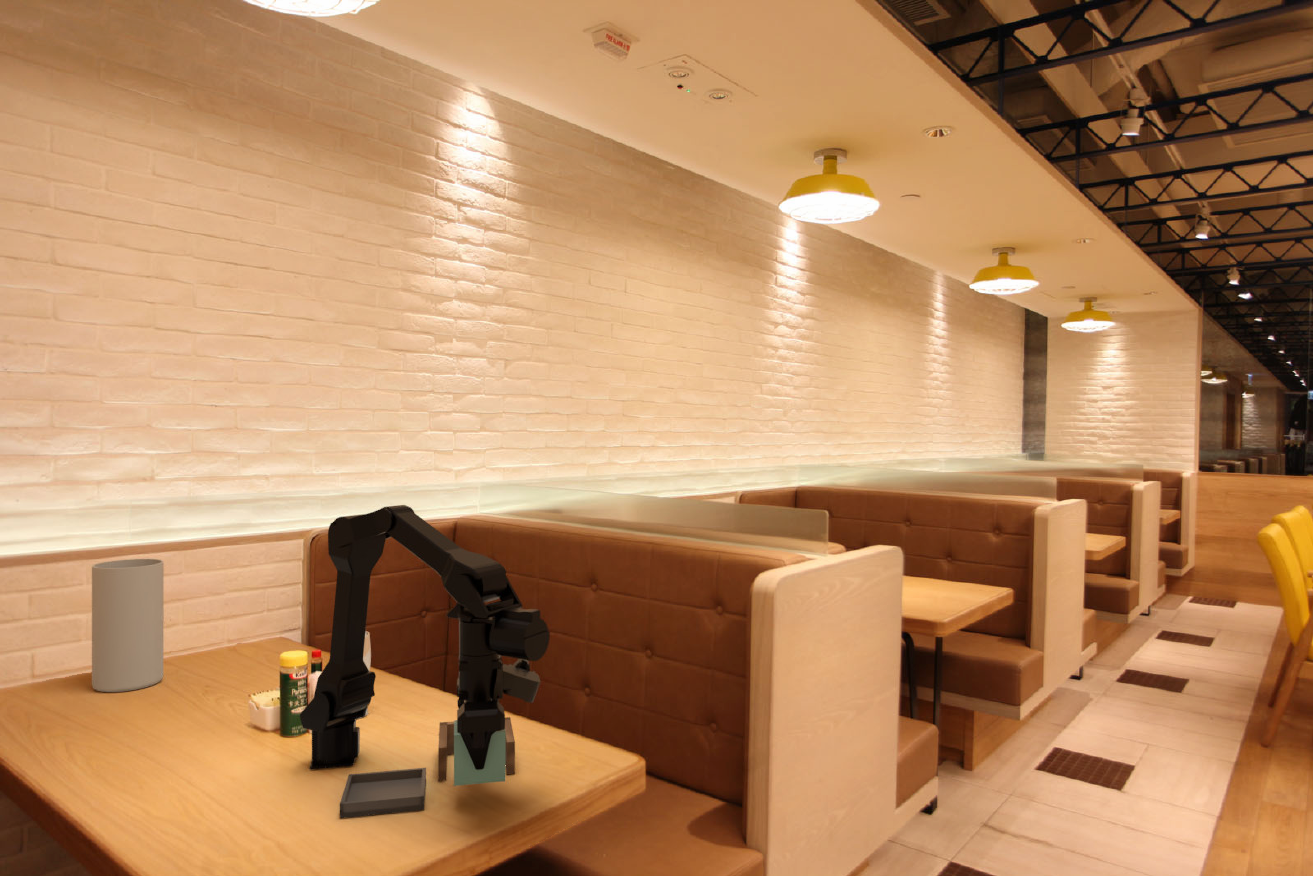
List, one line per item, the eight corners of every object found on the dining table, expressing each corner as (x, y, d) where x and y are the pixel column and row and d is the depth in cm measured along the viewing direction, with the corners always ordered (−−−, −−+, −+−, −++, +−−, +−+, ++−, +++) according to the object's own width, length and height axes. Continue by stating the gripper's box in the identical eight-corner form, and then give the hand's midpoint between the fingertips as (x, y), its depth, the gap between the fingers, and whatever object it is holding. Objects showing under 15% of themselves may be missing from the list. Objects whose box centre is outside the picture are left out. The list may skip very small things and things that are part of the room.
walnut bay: (438, 781, 125) (438, 748, 125) (439, 753, 136) (439, 722, 136) (514, 774, 128) (514, 741, 128) (510, 747, 139) (510, 717, 139)
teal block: (453, 786, 114) (454, 735, 114) (453, 768, 120) (454, 720, 120) (505, 781, 116) (505, 731, 116) (502, 764, 122) (503, 717, 122)
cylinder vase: (139, 693, 165) (139, 568, 165) (77, 693, 165) (76, 568, 165) (176, 675, 178) (176, 559, 178) (118, 674, 178) (118, 558, 178)
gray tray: (339, 818, 113) (339, 804, 113) (348, 787, 122) (348, 774, 122) (423, 810, 115) (423, 796, 115) (426, 780, 125) (426, 767, 125)
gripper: (543, 665, 111) (542, 782, 111) (530, 632, 129) (530, 732, 129) (457, 671, 108) (457, 790, 108) (457, 636, 126) (456, 738, 126)
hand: (479, 760), depth 118 cm, fingers closed on teal block, 6 cm apart
